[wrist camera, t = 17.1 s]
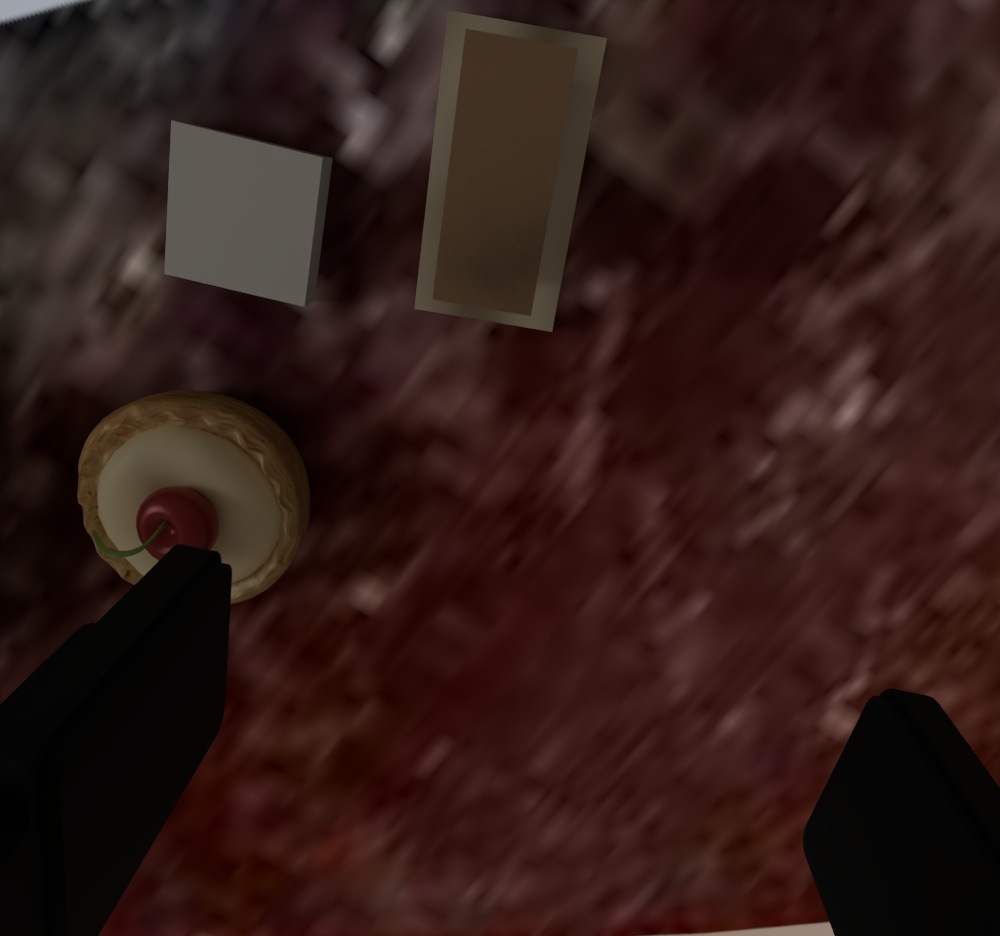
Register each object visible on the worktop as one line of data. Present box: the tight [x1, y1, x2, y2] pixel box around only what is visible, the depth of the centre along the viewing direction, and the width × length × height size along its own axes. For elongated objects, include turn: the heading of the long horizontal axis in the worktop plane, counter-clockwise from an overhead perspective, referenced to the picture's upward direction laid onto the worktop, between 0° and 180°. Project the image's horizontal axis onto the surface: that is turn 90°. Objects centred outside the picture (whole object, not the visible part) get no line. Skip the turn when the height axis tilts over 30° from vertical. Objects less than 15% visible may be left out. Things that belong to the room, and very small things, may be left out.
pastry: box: [77, 390, 310, 604], centre depth 38 cm, size 12×12×9 cm
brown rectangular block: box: [432, 29, 578, 316], centre depth 30 cm, size 4×9×9 cm, turn 171°
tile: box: [164, 120, 333, 307], centre depth 36 cm, size 2×7×7 cm
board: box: [415, 10, 607, 332], centre depth 35 cm, size 7×13×1 cm, turn 171°
